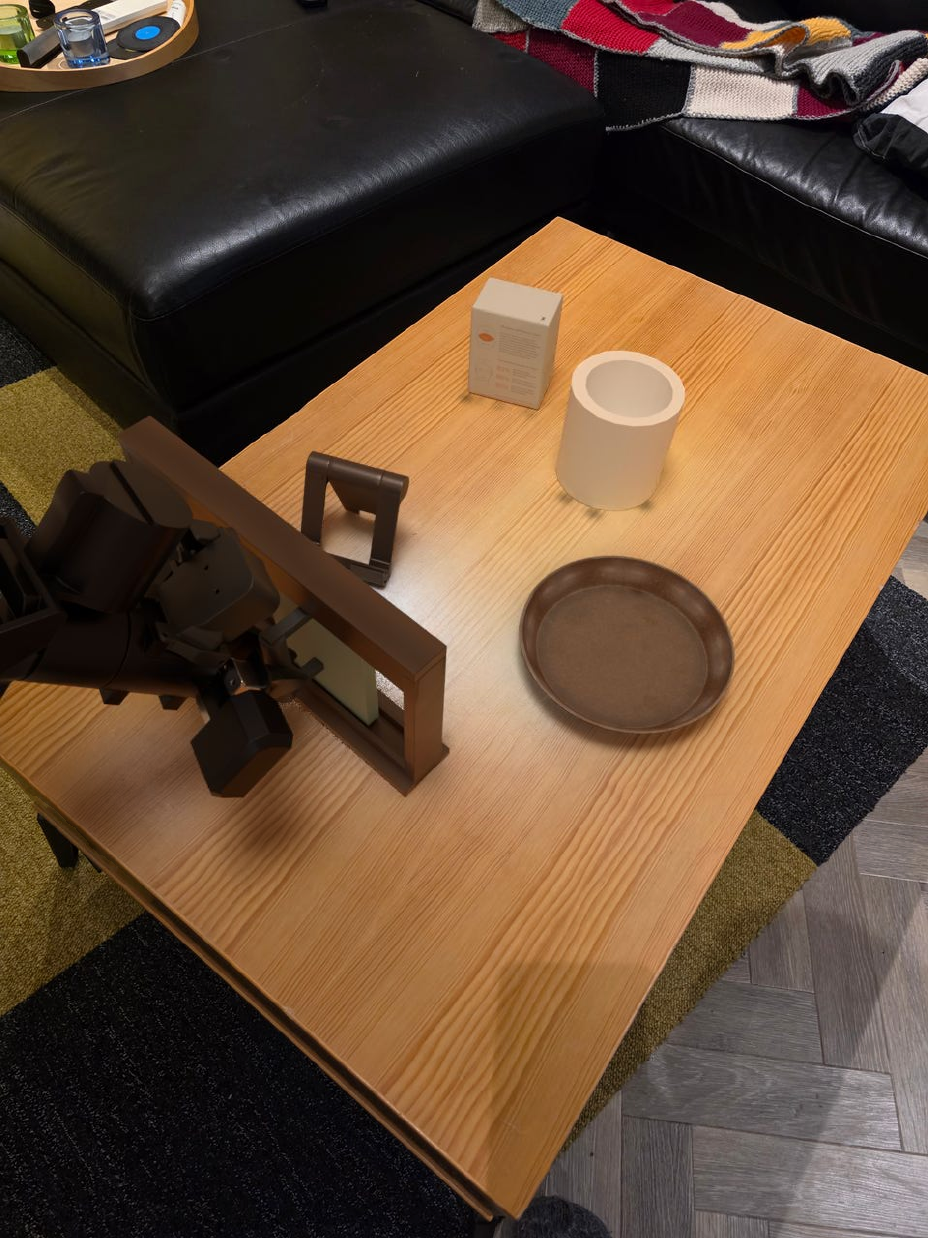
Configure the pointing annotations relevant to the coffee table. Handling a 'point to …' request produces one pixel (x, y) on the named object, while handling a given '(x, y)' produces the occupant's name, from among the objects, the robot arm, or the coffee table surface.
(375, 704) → the door
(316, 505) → the tablet stand
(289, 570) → the door frame
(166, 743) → the coffee table surface
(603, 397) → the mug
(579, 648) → the plant saucer
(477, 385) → the small box
